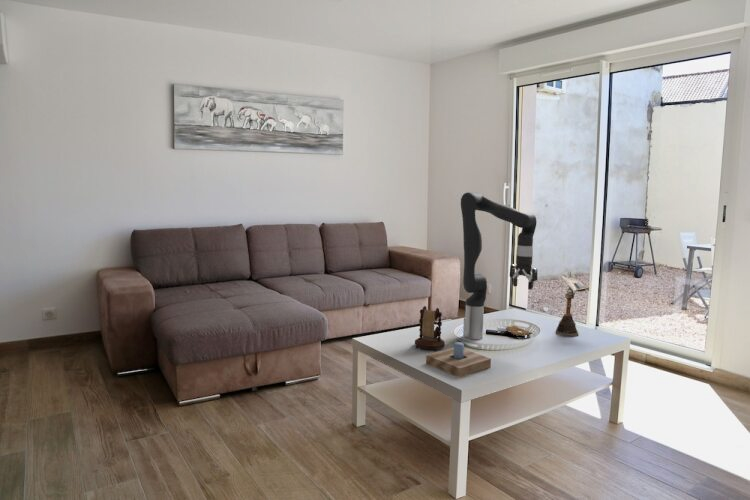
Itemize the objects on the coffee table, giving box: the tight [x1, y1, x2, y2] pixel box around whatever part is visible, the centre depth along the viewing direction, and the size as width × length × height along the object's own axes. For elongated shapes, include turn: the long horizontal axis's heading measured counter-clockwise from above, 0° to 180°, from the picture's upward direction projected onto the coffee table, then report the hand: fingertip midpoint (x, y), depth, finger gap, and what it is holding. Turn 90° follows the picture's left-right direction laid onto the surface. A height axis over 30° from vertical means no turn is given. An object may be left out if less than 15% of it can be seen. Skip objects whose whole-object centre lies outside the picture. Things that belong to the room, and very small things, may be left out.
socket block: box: [425, 347, 492, 378], centre depth 230 cm, size 20×20×4 cm
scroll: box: [414, 305, 446, 352], centre depth 254 cm, size 15×15×20 cm
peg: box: [453, 341, 465, 360], centre depth 230 cm, size 4×4×10 cm
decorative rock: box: [505, 325, 533, 337], centre depth 277 cm, size 11×4×15 cm
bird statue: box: [555, 269, 590, 338], centre depth 277 cm, size 17×13×35 cm
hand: (522, 287), depth 252 cm, fingers open, 8 cm apart
